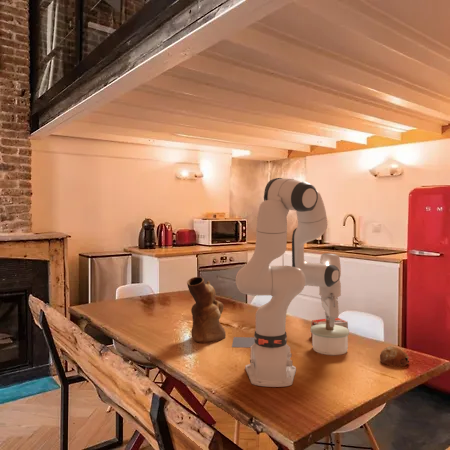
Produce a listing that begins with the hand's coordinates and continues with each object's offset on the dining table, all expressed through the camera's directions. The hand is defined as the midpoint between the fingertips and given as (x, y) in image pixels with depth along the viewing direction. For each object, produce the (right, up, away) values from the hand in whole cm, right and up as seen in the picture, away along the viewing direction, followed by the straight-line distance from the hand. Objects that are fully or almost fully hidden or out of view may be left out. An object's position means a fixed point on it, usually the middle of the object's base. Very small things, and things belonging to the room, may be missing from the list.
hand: (329, 323), depth 174 cm
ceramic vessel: (-54, -11, +13) cm, 57 cm away
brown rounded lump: (+22, -12, -15) cm, 29 cm away
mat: (-34, -11, +9) cm, 37 cm away
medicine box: (+4, -11, +17) cm, 21 cm away
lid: (0, -4, 0) cm, 4 cm away
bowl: (0, -11, 0) cm, 11 cm away
